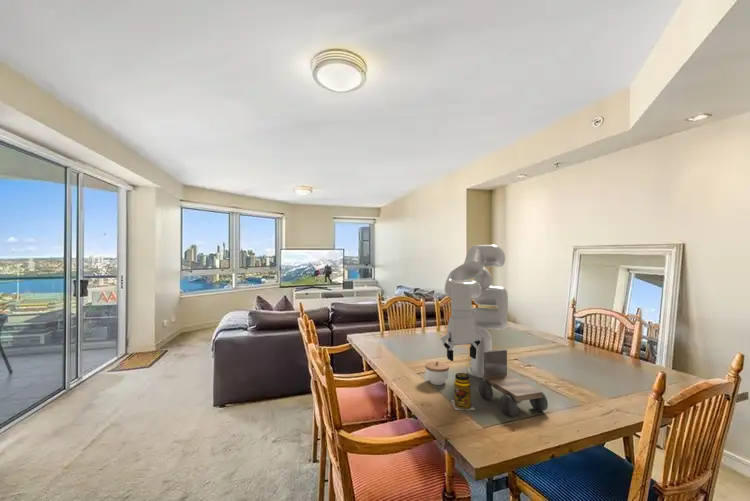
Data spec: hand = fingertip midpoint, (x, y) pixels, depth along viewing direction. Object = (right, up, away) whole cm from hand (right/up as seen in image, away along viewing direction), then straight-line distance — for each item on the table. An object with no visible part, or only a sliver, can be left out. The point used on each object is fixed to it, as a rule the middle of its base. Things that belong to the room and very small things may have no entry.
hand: (461, 358), depth 128 cm
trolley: (+19, -18, +1) cm, 26 cm away
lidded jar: (-5, -18, +23) cm, 30 cm away
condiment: (0, -18, 0) cm, 18 cm away
